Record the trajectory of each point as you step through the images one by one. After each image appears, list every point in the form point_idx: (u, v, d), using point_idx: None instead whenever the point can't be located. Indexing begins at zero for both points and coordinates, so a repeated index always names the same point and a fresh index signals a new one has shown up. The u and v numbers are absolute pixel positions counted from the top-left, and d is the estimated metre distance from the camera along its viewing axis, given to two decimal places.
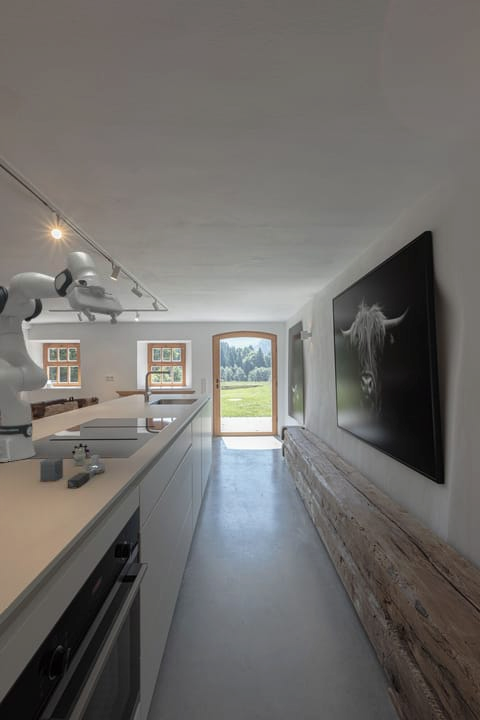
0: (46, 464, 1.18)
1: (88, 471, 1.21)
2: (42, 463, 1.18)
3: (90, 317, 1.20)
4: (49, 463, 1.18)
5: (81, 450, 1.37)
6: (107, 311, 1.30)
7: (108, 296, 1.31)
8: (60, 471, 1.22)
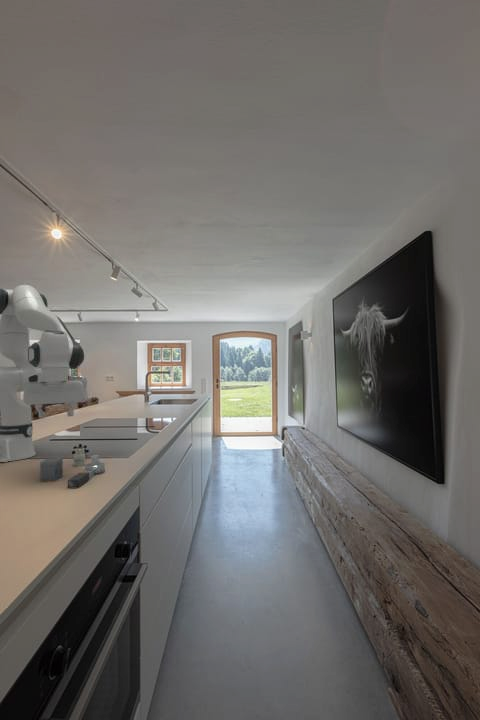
0: (46, 464, 1.18)
1: (88, 471, 1.21)
2: (42, 463, 1.18)
3: None
4: (49, 463, 1.18)
5: (81, 450, 1.36)
6: None
7: (68, 385, 1.20)
8: (60, 471, 1.22)
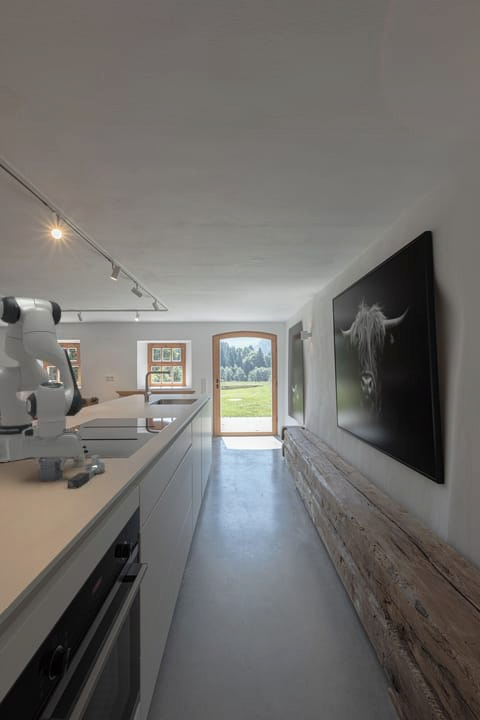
0: (46, 464, 1.18)
1: (88, 471, 1.21)
2: (42, 463, 1.18)
3: None
4: (49, 463, 1.18)
5: None
6: None
7: (63, 439, 1.19)
8: (60, 471, 1.22)
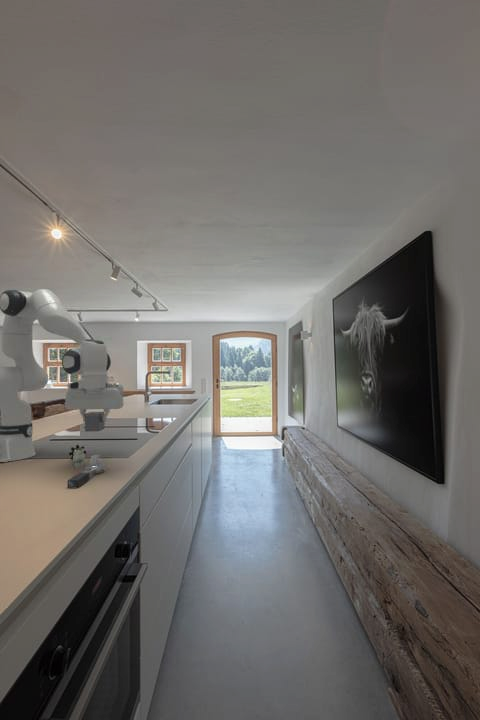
0: (90, 415, 1.25)
1: (88, 471, 1.21)
2: (87, 415, 1.25)
3: None
4: (93, 414, 1.25)
5: (80, 451, 1.35)
6: None
7: (106, 392, 1.26)
8: (102, 423, 1.29)
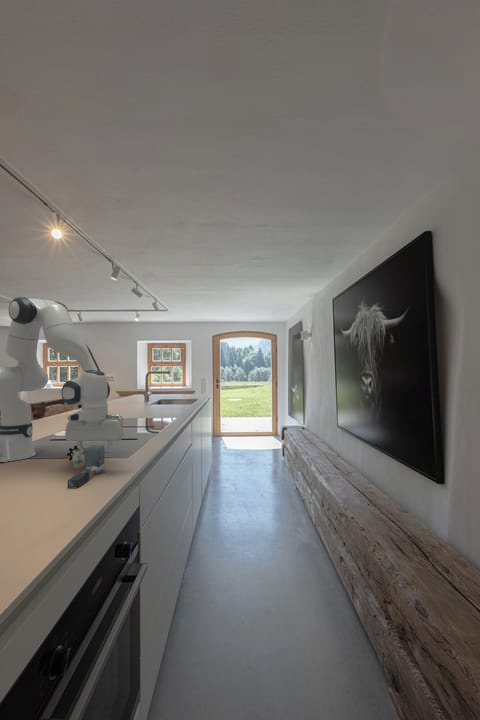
0: (90, 450, 1.25)
1: (88, 471, 1.21)
2: (87, 450, 1.25)
3: None
4: (93, 449, 1.25)
5: None
6: None
7: (106, 423, 1.26)
8: (102, 457, 1.29)
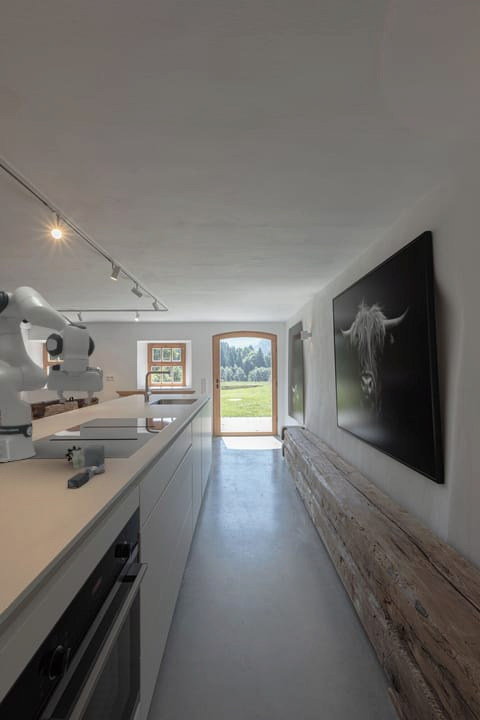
0: (90, 450, 1.25)
1: (88, 471, 1.21)
2: (87, 450, 1.25)
3: None
4: (93, 449, 1.25)
5: (80, 452, 1.33)
6: None
7: (86, 375, 1.32)
8: (102, 457, 1.29)
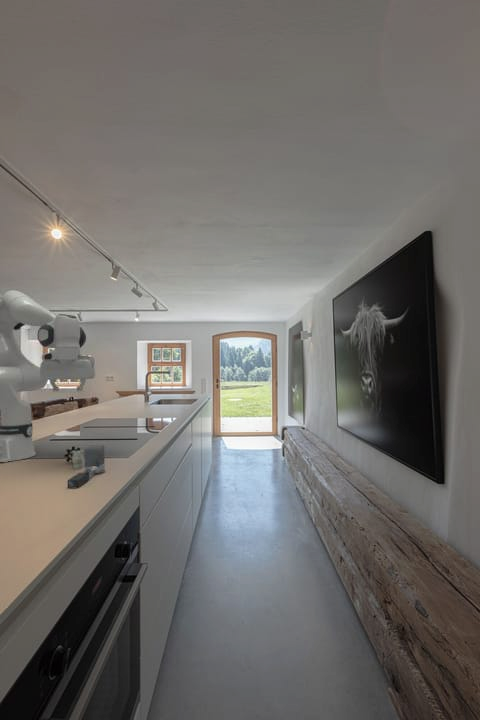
0: (90, 450, 1.25)
1: (88, 471, 1.21)
2: (87, 450, 1.25)
3: None
4: (93, 449, 1.25)
5: (80, 452, 1.33)
6: None
7: (78, 363, 1.35)
8: (102, 457, 1.29)
